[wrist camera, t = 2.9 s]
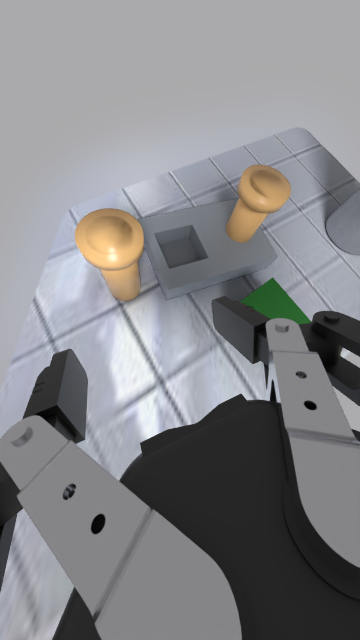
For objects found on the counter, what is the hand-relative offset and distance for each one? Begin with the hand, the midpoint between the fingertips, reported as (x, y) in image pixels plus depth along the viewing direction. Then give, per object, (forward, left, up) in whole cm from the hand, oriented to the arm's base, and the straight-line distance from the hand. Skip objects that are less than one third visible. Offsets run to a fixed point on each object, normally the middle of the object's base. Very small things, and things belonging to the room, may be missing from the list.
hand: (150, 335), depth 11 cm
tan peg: (0, -10, -14) cm, 17 cm away
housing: (-13, -12, -13) cm, 22 cm away
